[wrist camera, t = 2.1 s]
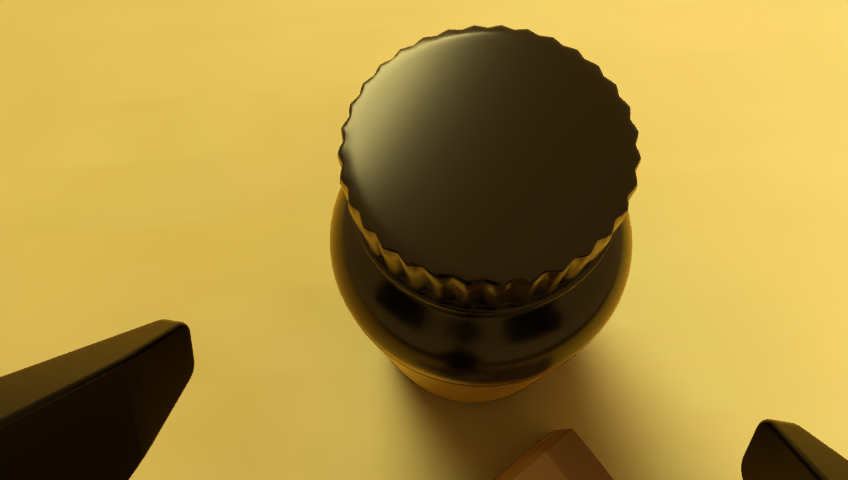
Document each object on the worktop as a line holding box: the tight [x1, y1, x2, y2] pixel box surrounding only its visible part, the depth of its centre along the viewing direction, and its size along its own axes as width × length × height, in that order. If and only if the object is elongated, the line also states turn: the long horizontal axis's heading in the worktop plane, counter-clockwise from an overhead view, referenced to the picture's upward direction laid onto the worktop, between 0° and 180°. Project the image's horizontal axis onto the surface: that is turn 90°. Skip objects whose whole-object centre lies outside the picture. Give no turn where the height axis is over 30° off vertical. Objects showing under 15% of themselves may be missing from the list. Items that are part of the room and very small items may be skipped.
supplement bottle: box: [330, 25, 641, 402], centre depth 13 cm, size 7×7×12 cm
